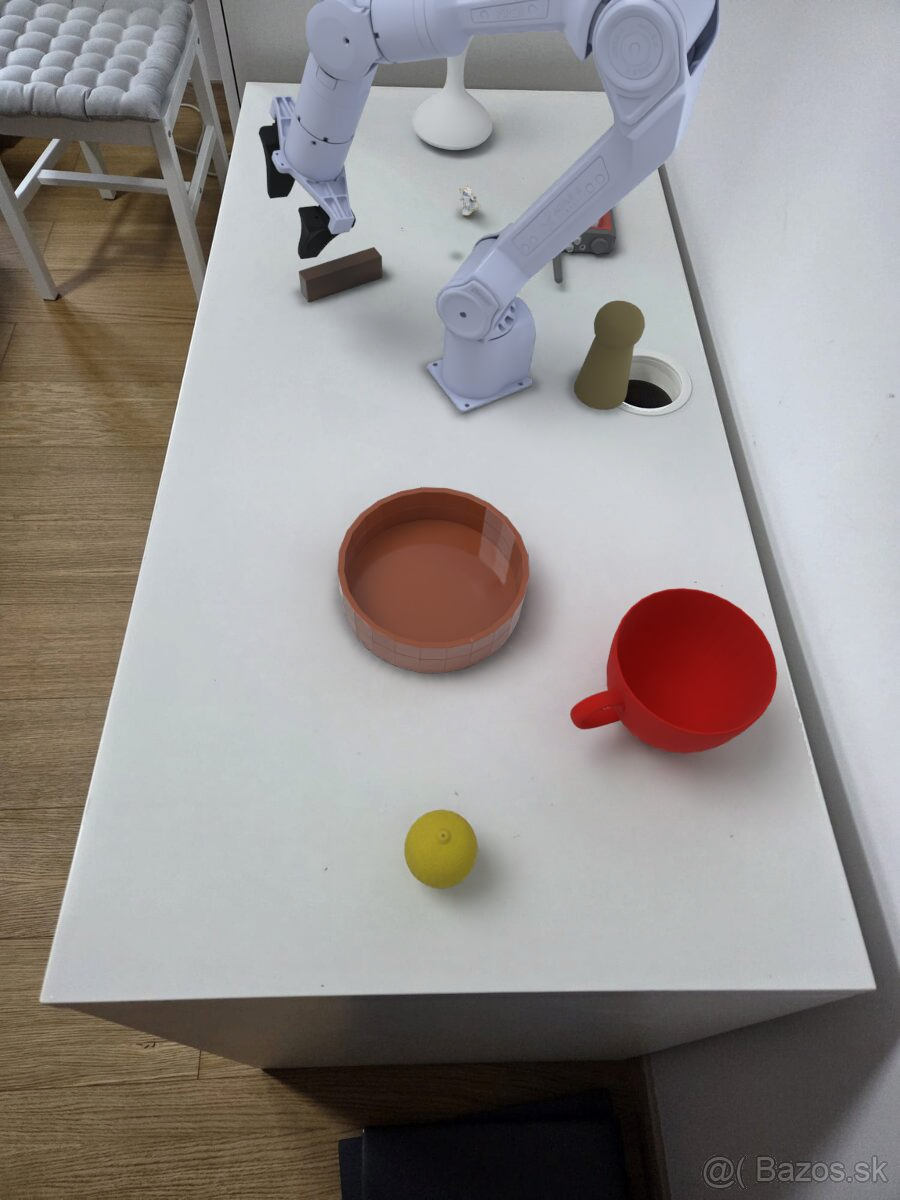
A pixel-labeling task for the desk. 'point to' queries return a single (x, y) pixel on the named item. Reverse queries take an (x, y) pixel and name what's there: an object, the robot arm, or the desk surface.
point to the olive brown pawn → (610, 356)
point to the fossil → (468, 200)
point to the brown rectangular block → (340, 274)
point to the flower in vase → (453, 113)
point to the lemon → (441, 849)
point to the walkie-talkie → (590, 242)
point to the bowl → (432, 579)
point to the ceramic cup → (684, 673)
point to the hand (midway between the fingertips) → (292, 225)
